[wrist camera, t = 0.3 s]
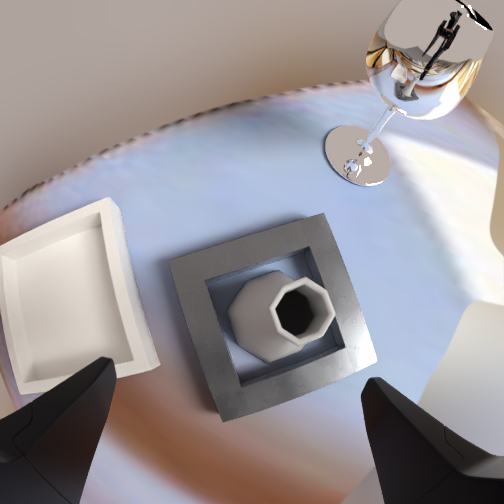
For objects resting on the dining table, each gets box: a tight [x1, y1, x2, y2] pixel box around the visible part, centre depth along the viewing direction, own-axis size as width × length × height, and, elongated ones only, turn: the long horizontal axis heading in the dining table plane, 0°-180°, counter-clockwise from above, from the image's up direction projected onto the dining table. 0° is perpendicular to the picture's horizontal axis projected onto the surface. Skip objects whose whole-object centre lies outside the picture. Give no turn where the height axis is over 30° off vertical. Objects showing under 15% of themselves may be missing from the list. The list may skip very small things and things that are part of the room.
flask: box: [226, 270, 336, 364], centre depth 18 cm, size 7×7×10 cm
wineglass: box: [325, 0, 494, 186], centre depth 18 cm, size 8×8×20 cm
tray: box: [0, 197, 160, 395], centre depth 21 cm, size 14×14×3 cm
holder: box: [168, 213, 377, 422], centre depth 22 cm, size 13×13×2 cm
